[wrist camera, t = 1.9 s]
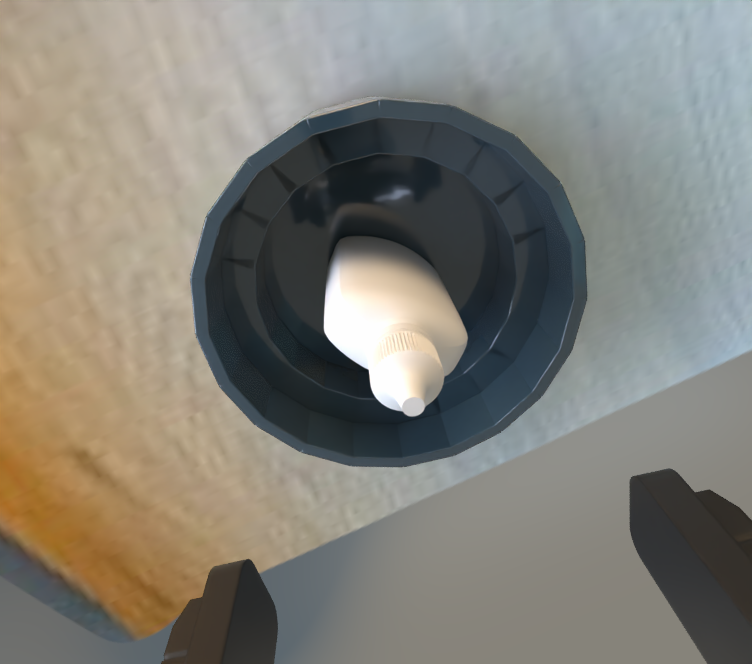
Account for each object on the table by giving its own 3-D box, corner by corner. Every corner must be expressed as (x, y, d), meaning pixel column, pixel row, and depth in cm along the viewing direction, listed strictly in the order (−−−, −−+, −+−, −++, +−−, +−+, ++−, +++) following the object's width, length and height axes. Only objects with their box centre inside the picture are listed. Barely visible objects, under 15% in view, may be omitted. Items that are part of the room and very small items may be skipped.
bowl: (170, 148, 22) (117, 167, 17) (519, 55, 22) (577, 45, 16) (283, 424, 30) (269, 498, 24) (546, 362, 29) (593, 424, 24)
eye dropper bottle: (383, 332, 27) (411, 495, 16) (314, 257, 25) (294, 387, 14) (448, 284, 26) (523, 424, 15) (382, 201, 24) (416, 296, 13)
